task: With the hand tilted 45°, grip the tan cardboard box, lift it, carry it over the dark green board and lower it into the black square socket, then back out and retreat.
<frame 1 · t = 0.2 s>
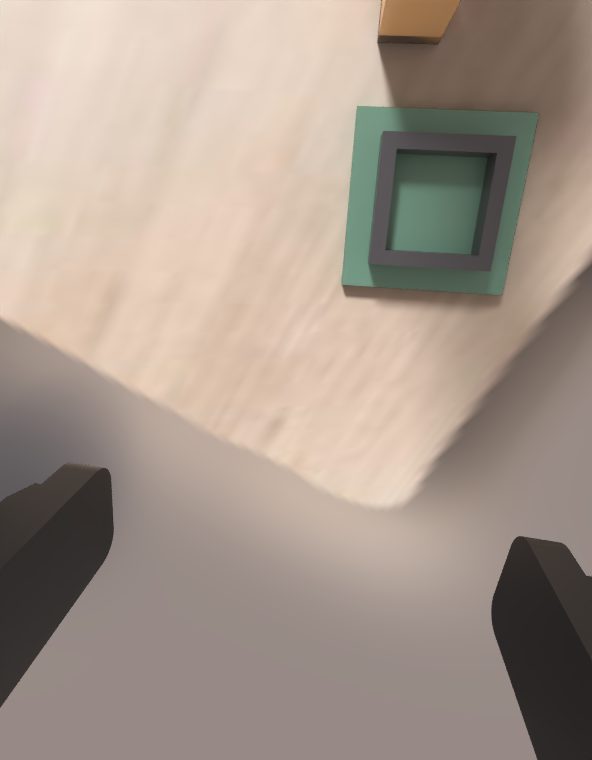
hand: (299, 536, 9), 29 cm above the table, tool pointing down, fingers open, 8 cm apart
tan cardboard box: (411, 7, 29), on the table
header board: (430, 205, 33), on the table
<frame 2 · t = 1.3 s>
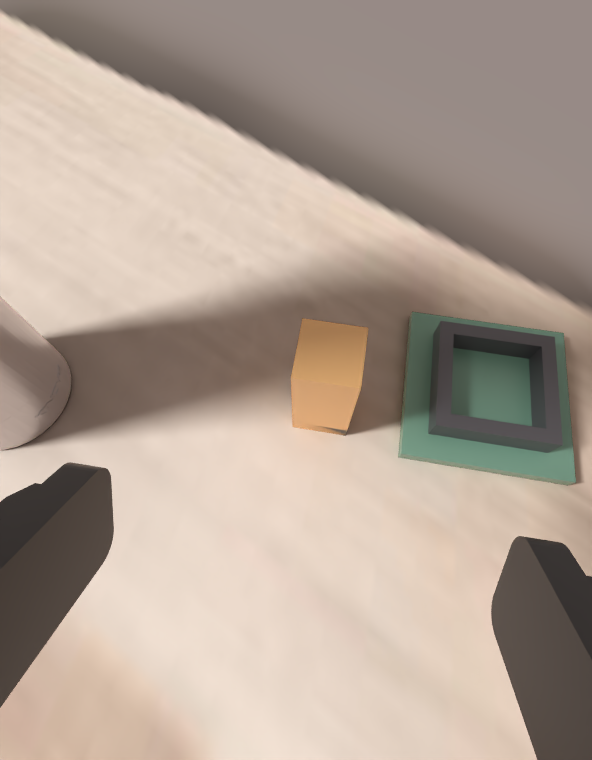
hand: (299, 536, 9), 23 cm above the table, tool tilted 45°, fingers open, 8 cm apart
tan cardboard box: (322, 406, 34), on the table
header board: (482, 394, 34), on the table
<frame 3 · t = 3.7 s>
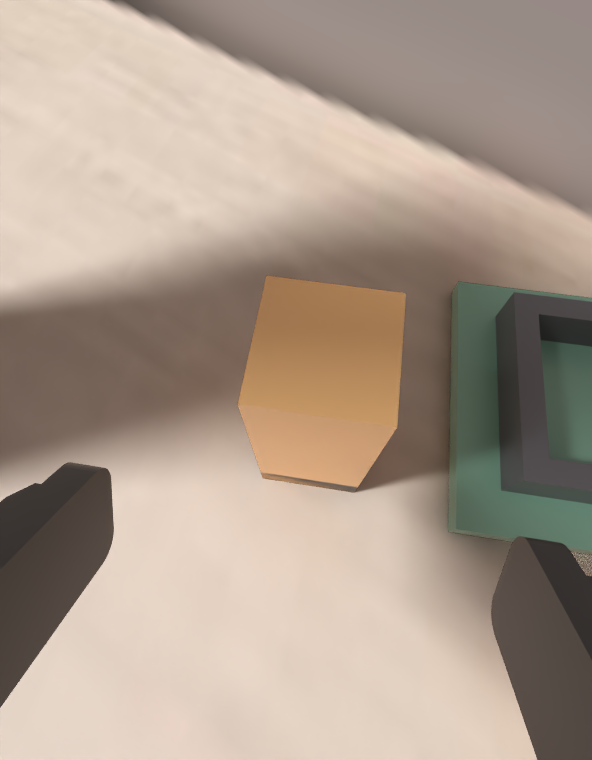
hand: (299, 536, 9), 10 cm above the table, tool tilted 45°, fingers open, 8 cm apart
tan cardboard box: (314, 441, 20), on the table
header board: (582, 417, 20), on the table
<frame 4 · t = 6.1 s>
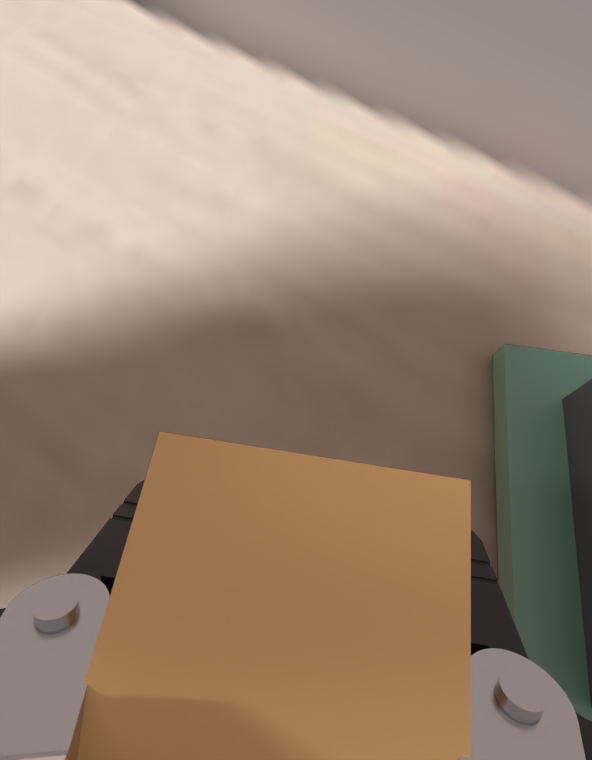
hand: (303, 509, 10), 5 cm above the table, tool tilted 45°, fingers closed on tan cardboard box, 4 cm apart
tan cardboard box: (293, 599, 13), on the table, touching gripper
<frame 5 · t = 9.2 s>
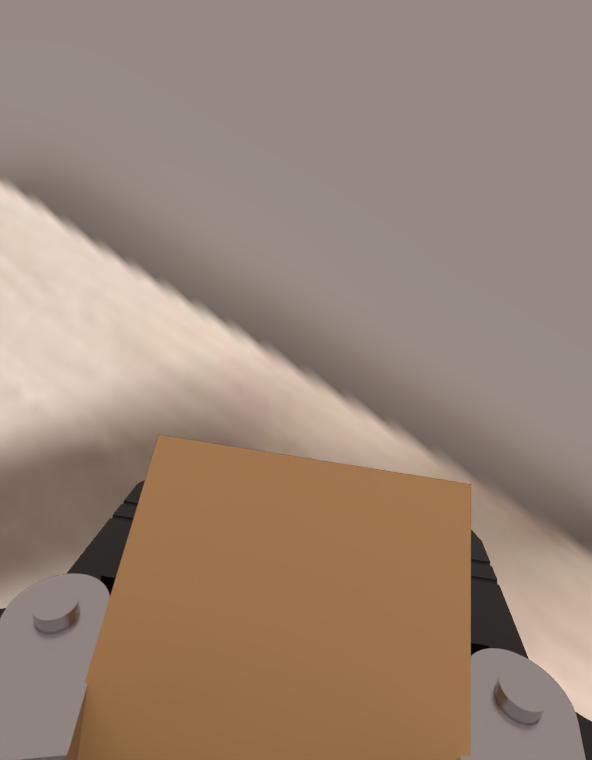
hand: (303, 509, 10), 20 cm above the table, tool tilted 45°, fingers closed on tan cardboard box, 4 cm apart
tan cardboard box: (292, 601, 13), point 15 cm above the table, touching gripper
when the fingers open (6 cm above the table, at t = 12.8 s): tan cardboard box stays where it is, resting on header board.
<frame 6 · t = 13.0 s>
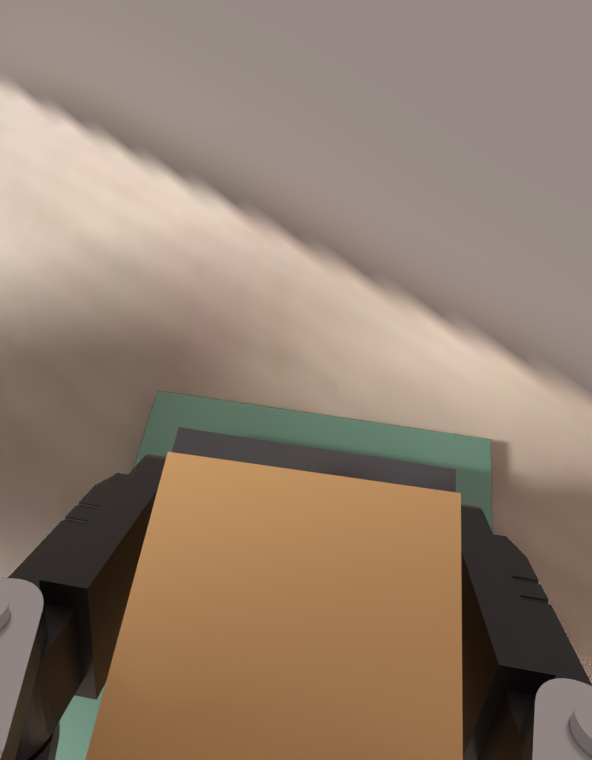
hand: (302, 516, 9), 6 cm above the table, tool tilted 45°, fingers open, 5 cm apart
tan cardboard box: (295, 603, 13), point 1 cm above the table, touching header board
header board: (293, 597, 14), on the table
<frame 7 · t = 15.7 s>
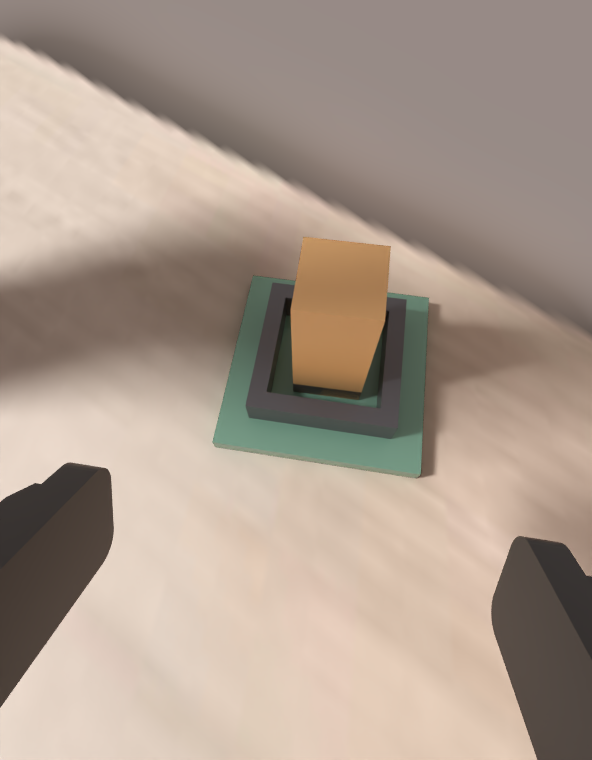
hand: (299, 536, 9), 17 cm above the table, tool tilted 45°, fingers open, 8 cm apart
tan cardboard box: (329, 366, 28), point 1 cm above the table, touching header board
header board: (327, 371, 29), on the table
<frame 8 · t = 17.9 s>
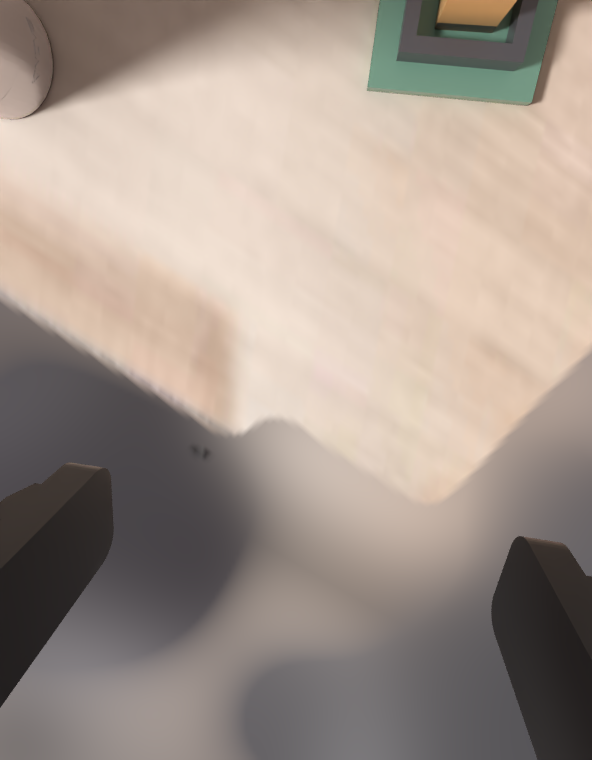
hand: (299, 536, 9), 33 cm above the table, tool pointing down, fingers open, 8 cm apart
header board: (464, 0, 32), on the table
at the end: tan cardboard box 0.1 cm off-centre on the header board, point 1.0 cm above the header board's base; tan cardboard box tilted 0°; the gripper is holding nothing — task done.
